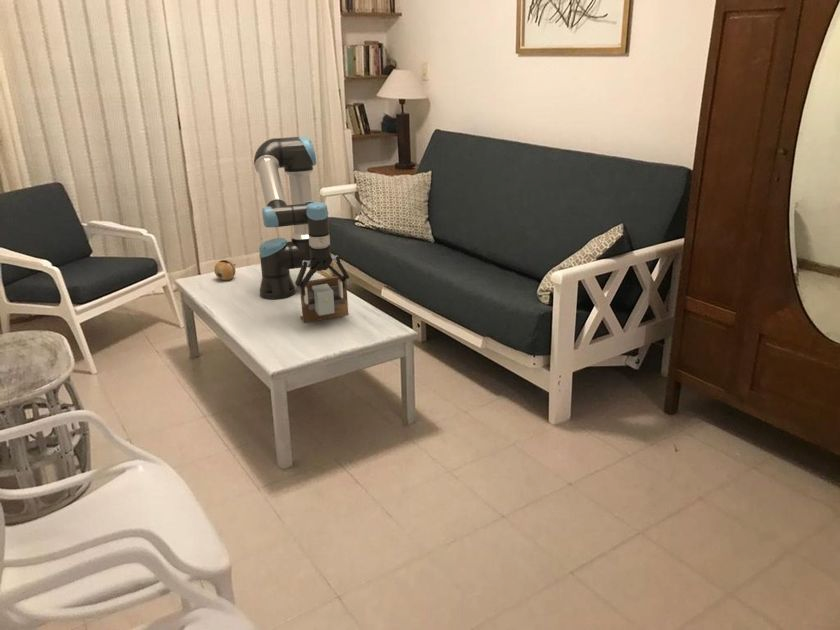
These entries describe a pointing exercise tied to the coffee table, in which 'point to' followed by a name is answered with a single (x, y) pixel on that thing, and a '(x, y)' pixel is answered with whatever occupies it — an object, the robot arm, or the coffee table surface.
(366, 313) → the coffee table surface
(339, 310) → the brown wooden rack
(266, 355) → the coffee table surface
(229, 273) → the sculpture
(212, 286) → the coffee table surface
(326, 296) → the grey-green box
